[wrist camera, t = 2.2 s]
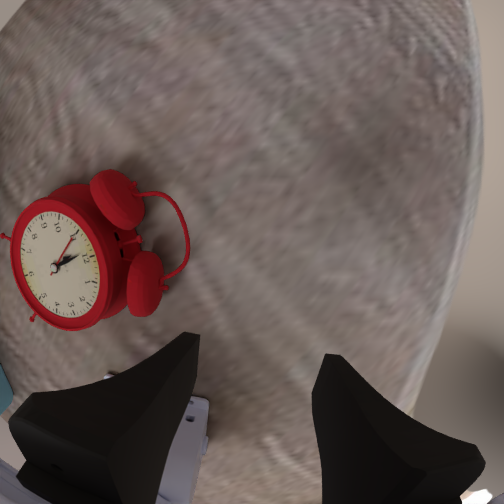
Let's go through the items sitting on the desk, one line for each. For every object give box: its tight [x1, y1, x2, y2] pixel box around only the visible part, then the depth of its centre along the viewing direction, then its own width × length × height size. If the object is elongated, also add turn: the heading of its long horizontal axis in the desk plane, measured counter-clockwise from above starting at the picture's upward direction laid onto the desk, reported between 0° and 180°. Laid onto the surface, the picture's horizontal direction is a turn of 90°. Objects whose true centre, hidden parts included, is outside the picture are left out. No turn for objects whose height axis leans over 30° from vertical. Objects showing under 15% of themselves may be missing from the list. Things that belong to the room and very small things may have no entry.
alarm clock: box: [0, 169, 190, 331], centre depth 18 cm, size 10×6×15 cm
